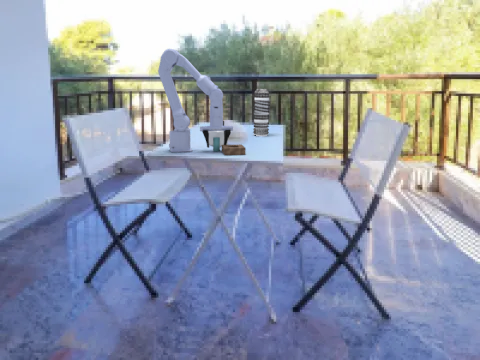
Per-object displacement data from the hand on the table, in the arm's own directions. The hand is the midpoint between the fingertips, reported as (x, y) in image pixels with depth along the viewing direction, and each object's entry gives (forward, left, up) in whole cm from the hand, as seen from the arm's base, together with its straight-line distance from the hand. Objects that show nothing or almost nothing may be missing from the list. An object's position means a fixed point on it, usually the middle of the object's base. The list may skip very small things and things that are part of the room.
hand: (216, 147), depth 210 cm
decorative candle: (+31, +44, -2) cm, 54 cm away
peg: (0, 0, -2) cm, 2 cm away
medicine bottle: (+3, +16, -2) cm, 16 cm away
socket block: (+6, -6, -2) cm, 9 cm away
